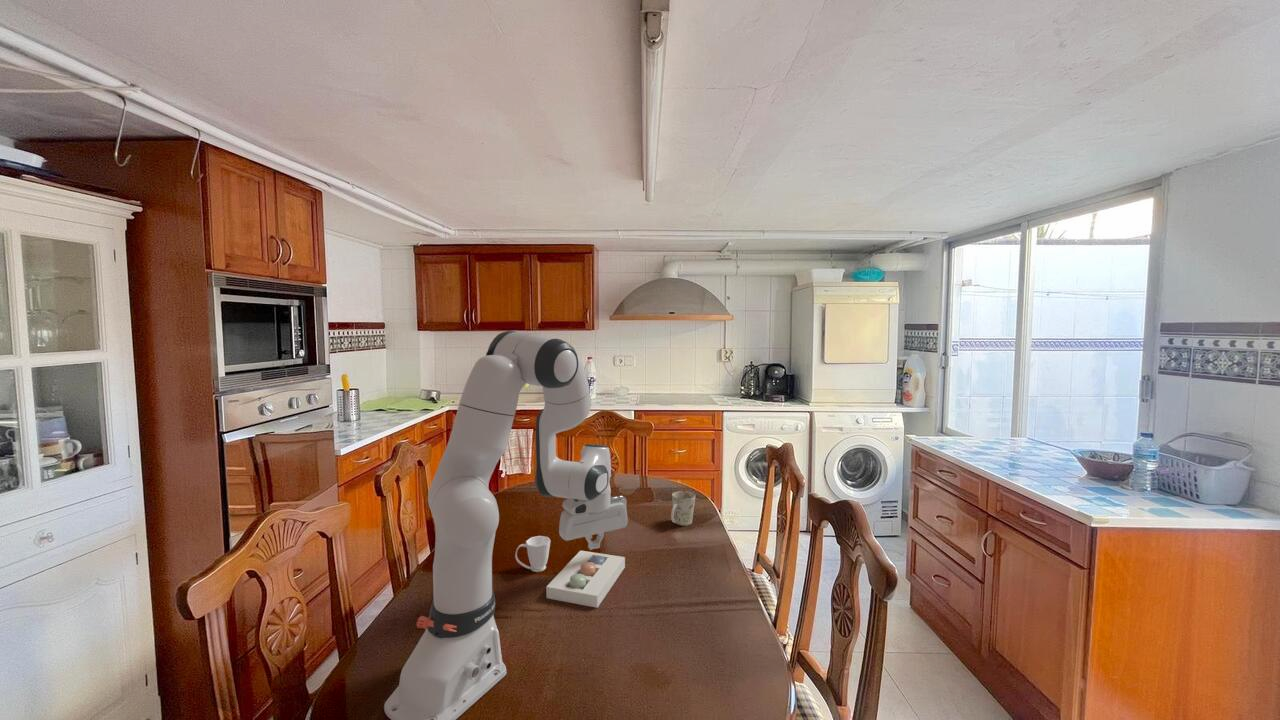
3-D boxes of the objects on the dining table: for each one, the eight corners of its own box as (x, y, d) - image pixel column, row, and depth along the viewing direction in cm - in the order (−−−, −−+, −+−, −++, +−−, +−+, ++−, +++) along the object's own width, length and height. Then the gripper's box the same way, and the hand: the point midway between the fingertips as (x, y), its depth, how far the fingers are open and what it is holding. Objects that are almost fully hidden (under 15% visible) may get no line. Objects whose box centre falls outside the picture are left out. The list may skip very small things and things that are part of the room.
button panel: (597, 607, 114) (597, 596, 114) (546, 598, 118) (546, 586, 118) (624, 567, 134) (624, 557, 134) (580, 560, 138) (580, 550, 138)
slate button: (601, 573, 130) (601, 563, 130) (588, 571, 131) (587, 561, 131) (606, 566, 134) (606, 556, 133) (593, 564, 135) (593, 554, 135)
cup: (549, 574, 130) (548, 546, 130) (512, 575, 130) (512, 546, 129) (552, 561, 137) (552, 535, 137) (518, 562, 137) (517, 535, 136)
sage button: (581, 594, 117) (581, 582, 117) (567, 591, 119) (567, 580, 118) (588, 586, 121) (588, 575, 121) (574, 583, 122) (574, 572, 122)
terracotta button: (592, 581, 124) (592, 570, 123) (578, 578, 125) (578, 568, 125) (597, 573, 127) (597, 563, 127) (584, 571, 129) (584, 561, 128)
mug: (699, 520, 167) (699, 493, 167) (683, 533, 157) (683, 504, 156) (678, 516, 172) (678, 489, 171) (661, 527, 161) (661, 499, 161)
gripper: (621, 491, 139) (620, 536, 140) (557, 502, 129) (556, 551, 129) (632, 497, 134) (631, 544, 135) (566, 510, 123) (565, 561, 124)
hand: (594, 548), depth 132 cm, fingers closed
